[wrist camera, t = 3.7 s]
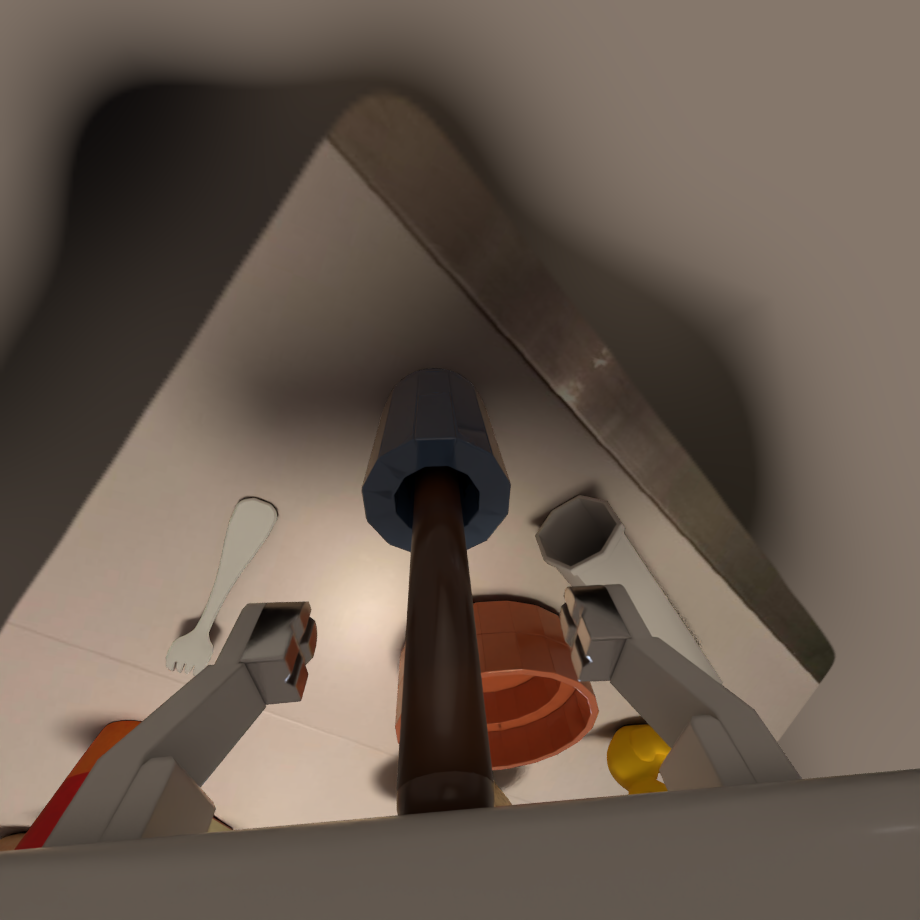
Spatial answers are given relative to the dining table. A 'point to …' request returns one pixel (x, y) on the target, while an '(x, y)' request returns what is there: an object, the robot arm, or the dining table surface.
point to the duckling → (637, 758)
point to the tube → (613, 568)
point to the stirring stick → (441, 663)
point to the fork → (224, 580)
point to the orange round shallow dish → (525, 684)
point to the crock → (435, 456)
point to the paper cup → (73, 784)
